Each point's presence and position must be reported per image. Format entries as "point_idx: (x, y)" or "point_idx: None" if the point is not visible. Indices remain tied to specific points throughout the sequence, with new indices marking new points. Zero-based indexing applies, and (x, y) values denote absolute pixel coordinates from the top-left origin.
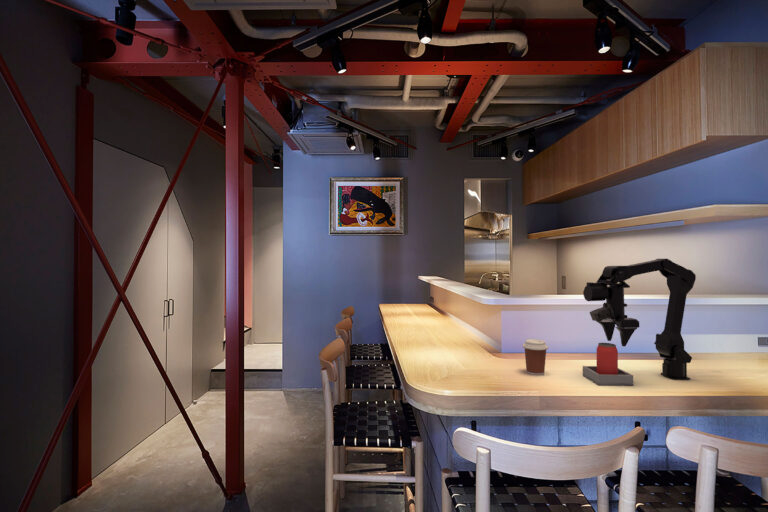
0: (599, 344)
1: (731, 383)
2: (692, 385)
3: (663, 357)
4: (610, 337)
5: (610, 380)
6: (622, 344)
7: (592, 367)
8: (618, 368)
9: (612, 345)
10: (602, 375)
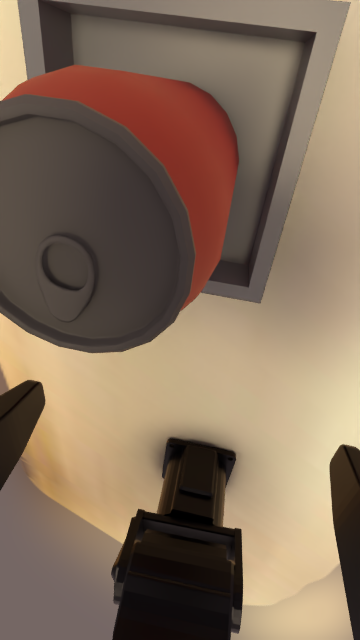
0: (44, 102)
1: (128, 514)
2: (105, 437)
3: (221, 528)
4: (339, 503)
5: None
6: (9, 390)
7: (293, 114)
8: (205, 290)
9: (63, 310)
10: (20, 16)
